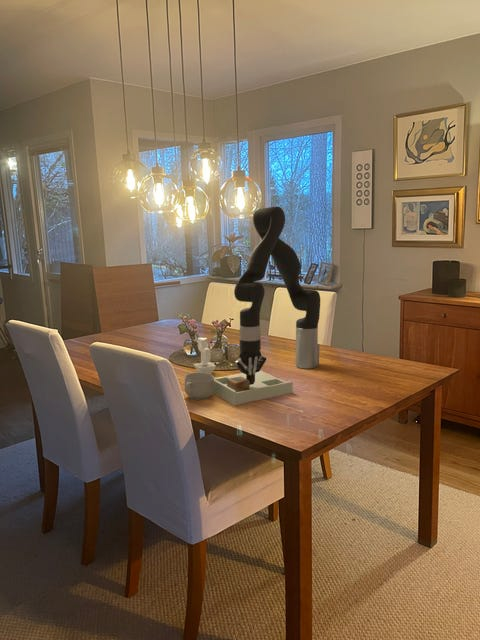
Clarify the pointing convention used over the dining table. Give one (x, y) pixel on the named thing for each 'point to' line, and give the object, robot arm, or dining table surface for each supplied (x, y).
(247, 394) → the box
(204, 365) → the figurine
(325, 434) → the dining table surface
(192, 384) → the teacup
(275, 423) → the dining table surface
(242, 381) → the block
